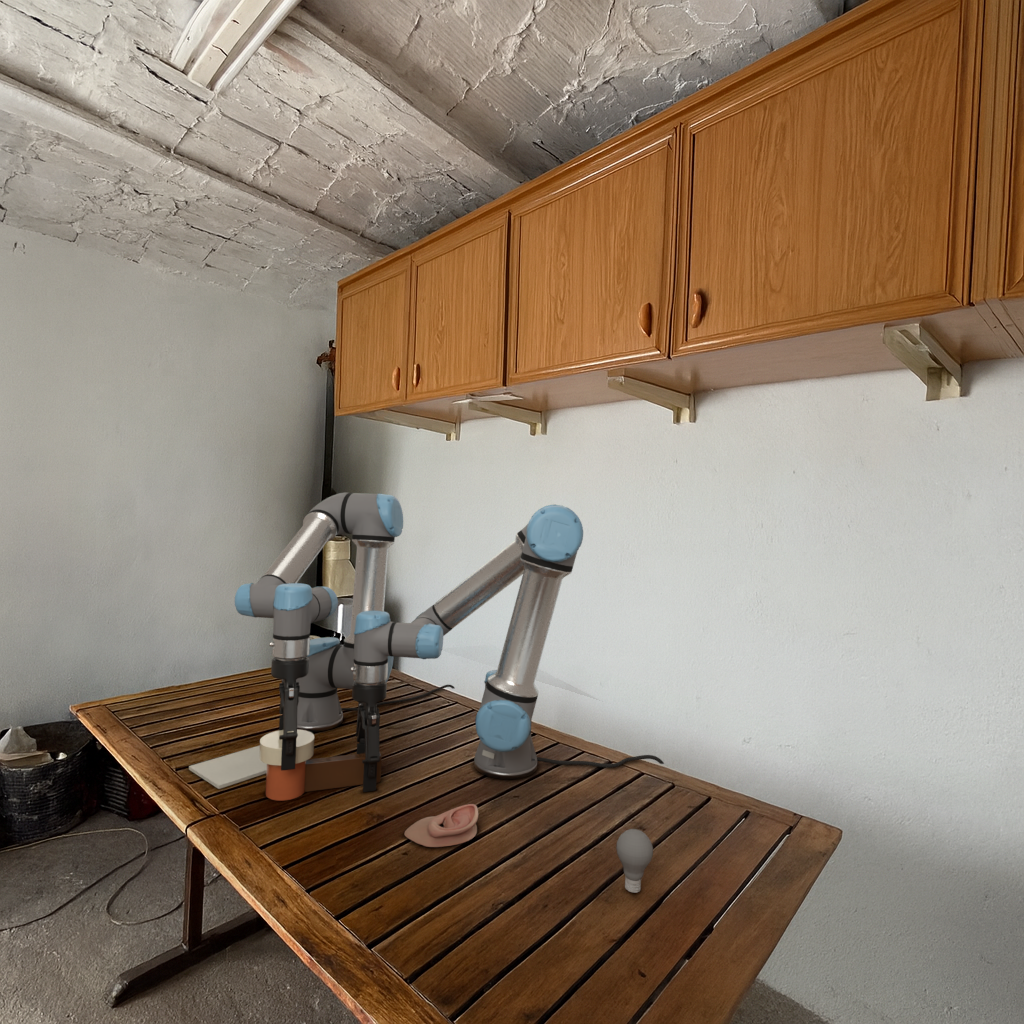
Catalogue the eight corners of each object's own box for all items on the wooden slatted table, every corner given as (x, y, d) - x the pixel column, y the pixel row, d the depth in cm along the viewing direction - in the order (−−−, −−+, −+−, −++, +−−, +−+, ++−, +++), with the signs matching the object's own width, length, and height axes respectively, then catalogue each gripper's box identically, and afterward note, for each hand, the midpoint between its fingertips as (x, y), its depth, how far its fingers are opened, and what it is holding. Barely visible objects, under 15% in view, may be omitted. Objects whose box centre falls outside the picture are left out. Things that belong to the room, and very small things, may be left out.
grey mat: (269, 745, 159) (269, 742, 159) (301, 761, 151) (301, 758, 151) (188, 769, 144) (188, 766, 144) (218, 789, 135) (218, 785, 135)
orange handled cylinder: (265, 803, 130) (267, 764, 130) (265, 786, 137) (266, 749, 137) (382, 787, 139) (384, 751, 139) (376, 772, 147) (377, 738, 146)
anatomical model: (398, 821, 117) (420, 793, 128) (397, 842, 117) (419, 813, 128) (468, 831, 114) (483, 802, 126) (467, 853, 114) (482, 822, 126)
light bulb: (610, 879, 108) (613, 822, 108) (644, 879, 109) (647, 822, 109) (619, 902, 102) (622, 840, 102) (655, 901, 103) (658, 840, 103)
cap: (295, 740, 143) (295, 725, 143) (324, 754, 136) (324, 738, 136) (249, 754, 134) (249, 738, 134) (277, 770, 127) (278, 753, 127)
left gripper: (270, 644, 145) (266, 737, 145) (273, 673, 122) (268, 783, 122) (304, 643, 148) (300, 734, 148) (314, 671, 125) (309, 778, 125)
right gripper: (345, 669, 150) (342, 762, 151) (360, 697, 130) (356, 805, 130) (377, 667, 153) (373, 759, 153) (397, 694, 133) (392, 800, 133)
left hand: (286, 756), depth 135 cm, fingers open, 13 cm apart
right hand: (365, 780), depth 142 cm, fingers open, 9 cm apart
